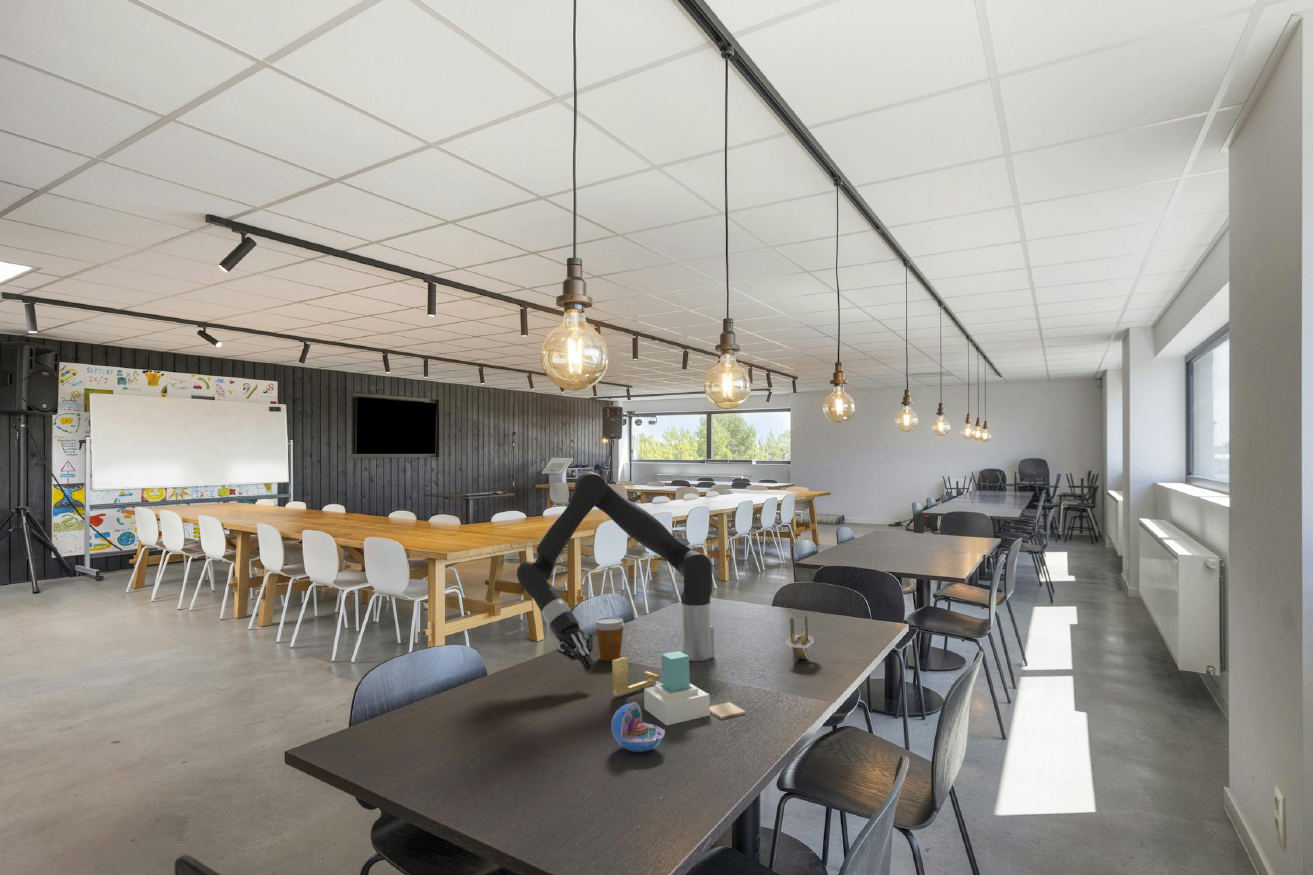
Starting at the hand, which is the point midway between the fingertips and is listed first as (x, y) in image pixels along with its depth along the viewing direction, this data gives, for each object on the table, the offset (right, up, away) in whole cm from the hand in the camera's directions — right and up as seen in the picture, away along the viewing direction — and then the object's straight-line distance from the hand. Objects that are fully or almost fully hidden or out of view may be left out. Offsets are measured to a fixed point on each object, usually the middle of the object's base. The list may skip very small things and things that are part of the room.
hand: (591, 668), depth 179 cm
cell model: (+14, -4, -39) cm, 42 cm away
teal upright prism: (+23, +1, -19) cm, 30 cm away
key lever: (+12, -4, -3) cm, 14 cm away
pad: (+35, -4, -19) cm, 40 cm away
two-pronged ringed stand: (+62, -5, +19) cm, 65 cm away
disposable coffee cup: (+3, -7, +27) cm, 28 cm away
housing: (+23, -4, -19) cm, 30 cm away
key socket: (+17, -5, 0) cm, 18 cm away
